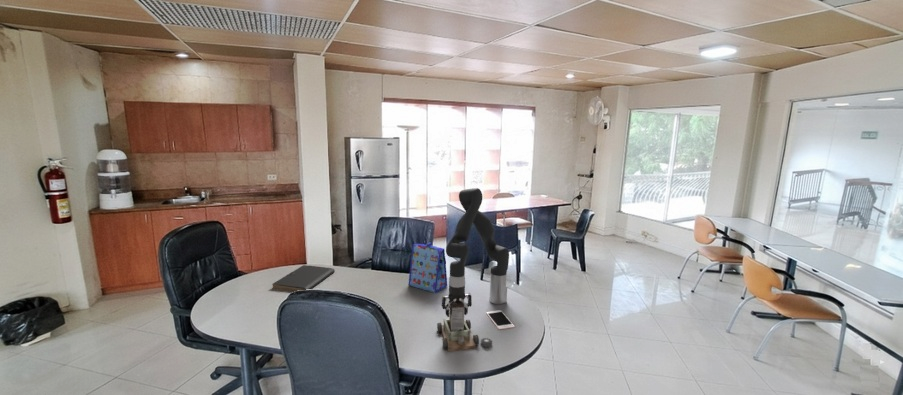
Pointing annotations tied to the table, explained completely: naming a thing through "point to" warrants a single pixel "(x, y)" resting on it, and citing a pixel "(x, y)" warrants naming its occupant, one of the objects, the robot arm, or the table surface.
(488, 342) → the loose wheel
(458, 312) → the coffee box
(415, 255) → the lunch bag
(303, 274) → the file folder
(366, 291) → the table surface
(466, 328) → the chassis
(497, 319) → the cell phone
